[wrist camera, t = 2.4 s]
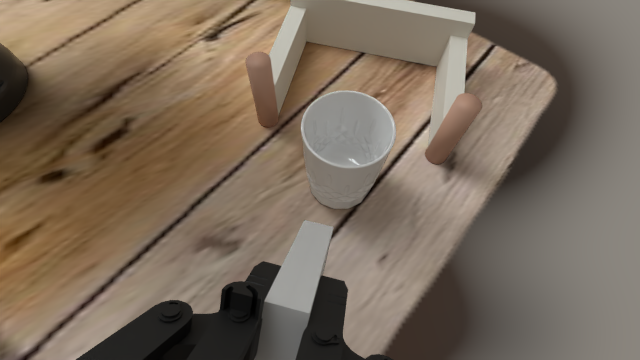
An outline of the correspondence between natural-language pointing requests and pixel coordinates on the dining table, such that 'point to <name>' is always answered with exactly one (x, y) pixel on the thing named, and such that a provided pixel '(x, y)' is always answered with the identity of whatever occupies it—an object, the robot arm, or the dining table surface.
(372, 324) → the dining table surface
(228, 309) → the robot arm
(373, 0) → the frame
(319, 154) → the white cup
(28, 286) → the dining table surface
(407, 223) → the dining table surface
